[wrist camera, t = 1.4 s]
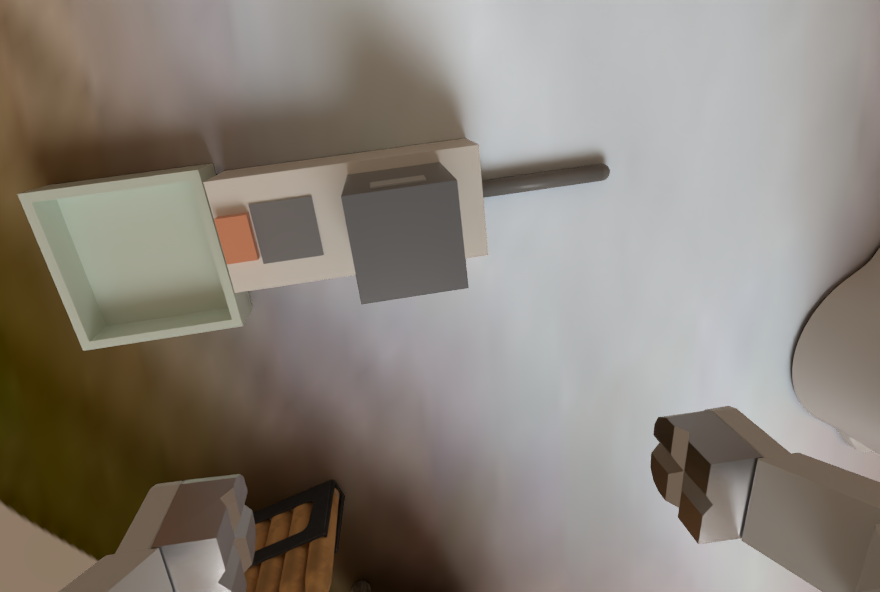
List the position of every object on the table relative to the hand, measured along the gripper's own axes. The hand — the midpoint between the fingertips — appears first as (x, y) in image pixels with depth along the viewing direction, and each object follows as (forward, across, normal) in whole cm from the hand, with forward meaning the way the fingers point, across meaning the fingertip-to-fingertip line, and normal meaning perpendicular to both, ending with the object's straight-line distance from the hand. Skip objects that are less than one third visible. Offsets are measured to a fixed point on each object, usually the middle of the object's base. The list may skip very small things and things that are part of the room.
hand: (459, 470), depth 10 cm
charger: (+22, 0, -1) cm, 22 cm away
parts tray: (+24, +14, +1) cm, 28 cm away
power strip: (+23, -2, -1) cm, 24 cm away
